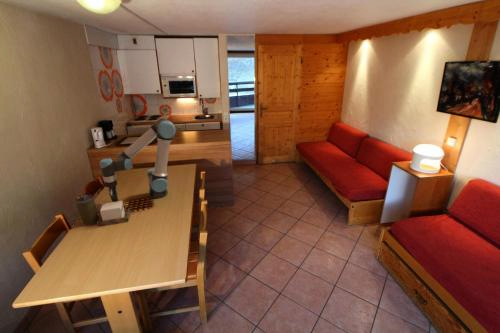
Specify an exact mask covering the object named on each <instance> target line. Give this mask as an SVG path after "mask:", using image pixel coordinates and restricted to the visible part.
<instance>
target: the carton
mask: <svg viewBox="0 0 500 333" xmlns="http://www.w3.org/2000/svg"><path fill="white" fill-rule="evenodd" d="M103 203H104V202H103ZM99 213H100V215H101V216H102V220H103V221H105V220H111V219H117V218H123V217H126V210H125V208H124V203H123V200H119V201H117V202H112V201H110V202H105V203H104V204H103V205H102V208H101V210H100V212H99Z"/></svg>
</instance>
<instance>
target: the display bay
mask: <svg viewBox="0 0 500 333" xmlns="http://www.w3.org/2000/svg"><path fill="white" fill-rule="evenodd" d="M130 216H131V207H128V208H127V212H126V213H125V216H124V217H123V218H117V219H111V220H105V221H103V220H102V216H101V214H100V216H99V220H98V222H96V223H97V226H98V227H103V226H109V225H115V224H116V225H117V224H121V223H128V222H130V221H129V220H130Z"/></svg>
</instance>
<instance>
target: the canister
mask: <svg viewBox="0 0 500 333" xmlns="http://www.w3.org/2000/svg"><path fill="white" fill-rule="evenodd" d="M95 202H96V201H95V198H94V196H93V194H84V193H83V194H82V195H81V196H79V197H78V198H76V199H75V204H76V207H77V210H78V212H79V217H80V219H81V224H82V225H83V226H90V225H94V224H95V223H97V222H98V220H99V218H100V216H99V212H97V209H96V205H95Z"/></svg>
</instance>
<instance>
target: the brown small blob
mask: <svg viewBox="0 0 500 333" xmlns="http://www.w3.org/2000/svg"><path fill="white" fill-rule="evenodd" d="M103 204H104V200H98V201H95V205H96V209H97V212H98V213H101V212H100V210H101V208H102V205H103Z"/></svg>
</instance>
